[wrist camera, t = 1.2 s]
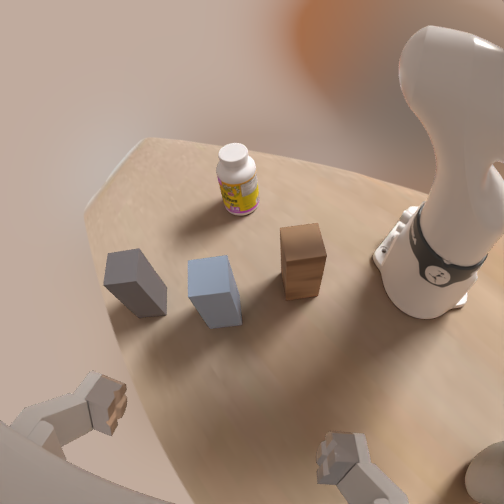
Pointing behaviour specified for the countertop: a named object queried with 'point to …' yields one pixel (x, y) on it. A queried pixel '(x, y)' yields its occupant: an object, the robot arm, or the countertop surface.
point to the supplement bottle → (237, 179)
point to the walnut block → (302, 260)
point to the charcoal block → (135, 283)
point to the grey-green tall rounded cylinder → (487, 475)
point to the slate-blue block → (214, 291)
